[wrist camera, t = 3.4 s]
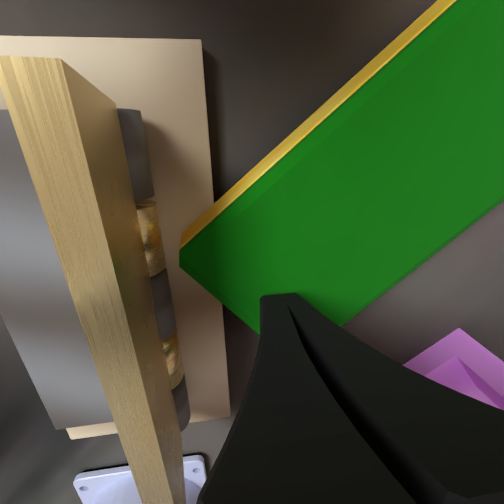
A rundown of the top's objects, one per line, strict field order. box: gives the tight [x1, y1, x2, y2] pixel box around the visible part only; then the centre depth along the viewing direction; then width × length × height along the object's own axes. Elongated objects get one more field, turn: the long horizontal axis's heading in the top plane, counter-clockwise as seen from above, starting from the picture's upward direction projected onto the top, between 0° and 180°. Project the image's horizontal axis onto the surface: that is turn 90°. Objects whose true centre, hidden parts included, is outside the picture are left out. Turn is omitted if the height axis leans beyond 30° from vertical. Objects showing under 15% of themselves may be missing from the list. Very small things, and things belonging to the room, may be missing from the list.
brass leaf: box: [0, 55, 186, 504], centre depth 9 cm, size 14×7×2 cm
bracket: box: [403, 328, 504, 410], centre depth 16 cm, size 13×6×7 cm, turn 40°
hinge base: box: [0, 36, 231, 439], centre depth 11 cm, size 18×9×3 cm, turn 1°
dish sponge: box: [179, 0, 504, 335], centre depth 10 cm, size 7×14×2 cm, turn 130°
